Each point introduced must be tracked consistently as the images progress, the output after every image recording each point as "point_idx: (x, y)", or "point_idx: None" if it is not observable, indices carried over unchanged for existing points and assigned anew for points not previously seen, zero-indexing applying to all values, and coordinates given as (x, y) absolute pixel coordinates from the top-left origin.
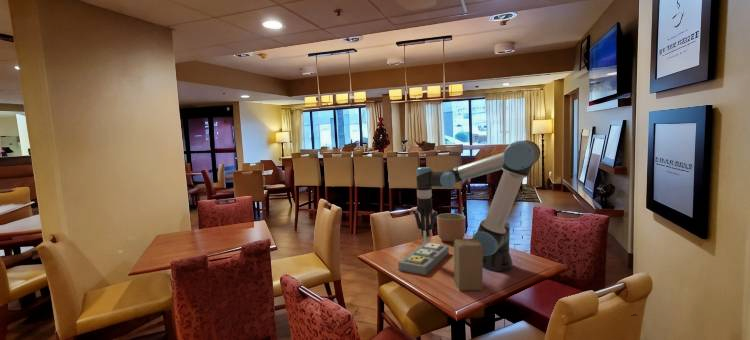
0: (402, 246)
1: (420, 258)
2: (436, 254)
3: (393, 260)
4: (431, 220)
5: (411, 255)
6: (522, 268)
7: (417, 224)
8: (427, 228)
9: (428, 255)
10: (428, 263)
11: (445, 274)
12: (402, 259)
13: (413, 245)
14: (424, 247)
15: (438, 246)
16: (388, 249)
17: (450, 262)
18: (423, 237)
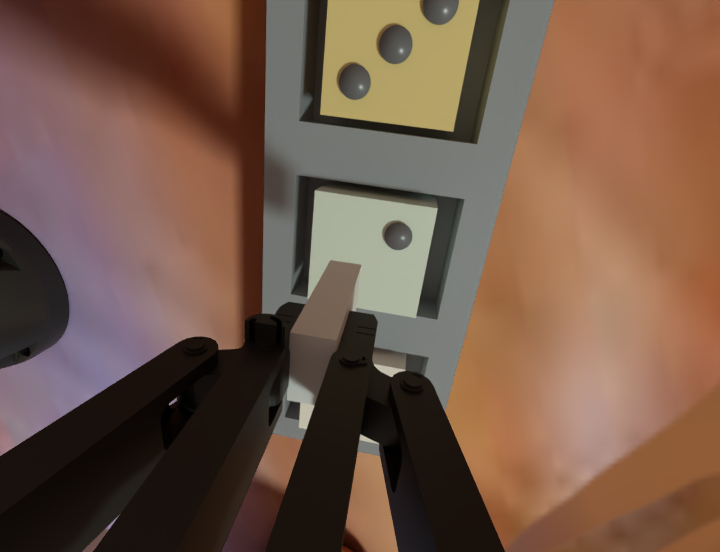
0: (593, 457)
1: (356, 52)
2: (281, 259)
3: (631, 174)
4: (29, 478)
5: (474, 173)
6: None
7: (445, 435)
8: (246, 357)
9: (320, 189)
10: (271, 10)
11: (168, 20)
12: (544, 23)
13: (517, 481)
14: (402, 364)
15: None
16: (701, 389)
17: (218, 259)
18: (351, 292)
